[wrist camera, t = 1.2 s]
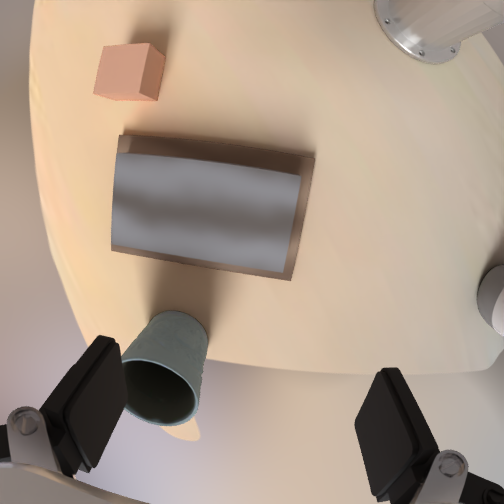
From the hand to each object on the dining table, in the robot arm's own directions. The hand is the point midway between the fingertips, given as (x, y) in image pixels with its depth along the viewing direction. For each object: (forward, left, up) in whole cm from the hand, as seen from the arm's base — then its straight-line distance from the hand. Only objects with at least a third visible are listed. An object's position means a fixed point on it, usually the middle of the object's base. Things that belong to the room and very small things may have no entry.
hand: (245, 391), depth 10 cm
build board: (-1, -6, -26) cm, 26 cm away
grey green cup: (+17, -8, -26) cm, 32 cm away
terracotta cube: (-15, -16, -26) cm, 34 cm away
